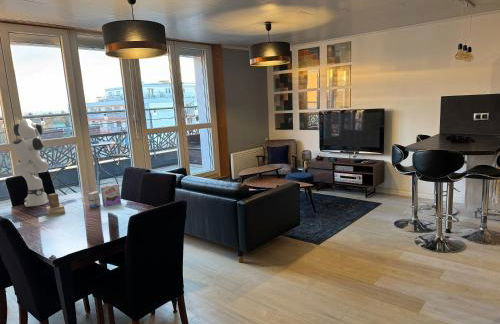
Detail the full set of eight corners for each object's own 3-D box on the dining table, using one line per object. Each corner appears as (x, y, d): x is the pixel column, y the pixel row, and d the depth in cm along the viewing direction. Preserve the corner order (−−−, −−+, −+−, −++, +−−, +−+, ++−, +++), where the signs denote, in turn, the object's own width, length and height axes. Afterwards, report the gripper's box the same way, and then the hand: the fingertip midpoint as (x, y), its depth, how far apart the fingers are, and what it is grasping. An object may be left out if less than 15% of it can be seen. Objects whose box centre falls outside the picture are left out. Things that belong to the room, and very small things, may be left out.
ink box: (94, 207, 280) (92, 193, 278) (89, 207, 281) (87, 193, 279) (101, 204, 288) (99, 191, 286) (95, 204, 289) (94, 191, 287)
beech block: (47, 214, 271) (46, 206, 270) (62, 210, 277) (61, 203, 276) (49, 217, 262) (48, 209, 261) (65, 213, 269) (64, 206, 268)
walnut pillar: (50, 207, 268) (47, 194, 266) (56, 205, 272) (54, 193, 270) (53, 207, 265) (51, 195, 264) (59, 206, 269) (57, 193, 268)
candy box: (103, 206, 281) (101, 187, 278) (102, 205, 286) (100, 186, 283) (121, 203, 287) (118, 184, 285) (120, 202, 292) (117, 183, 290)
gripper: (37, 159, 254) (44, 175, 260) (25, 156, 266) (32, 172, 271) (28, 163, 250) (36, 179, 255) (17, 160, 261) (24, 176, 267)
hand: (34, 176), depth 263 cm, fingers open, 8 cm apart
